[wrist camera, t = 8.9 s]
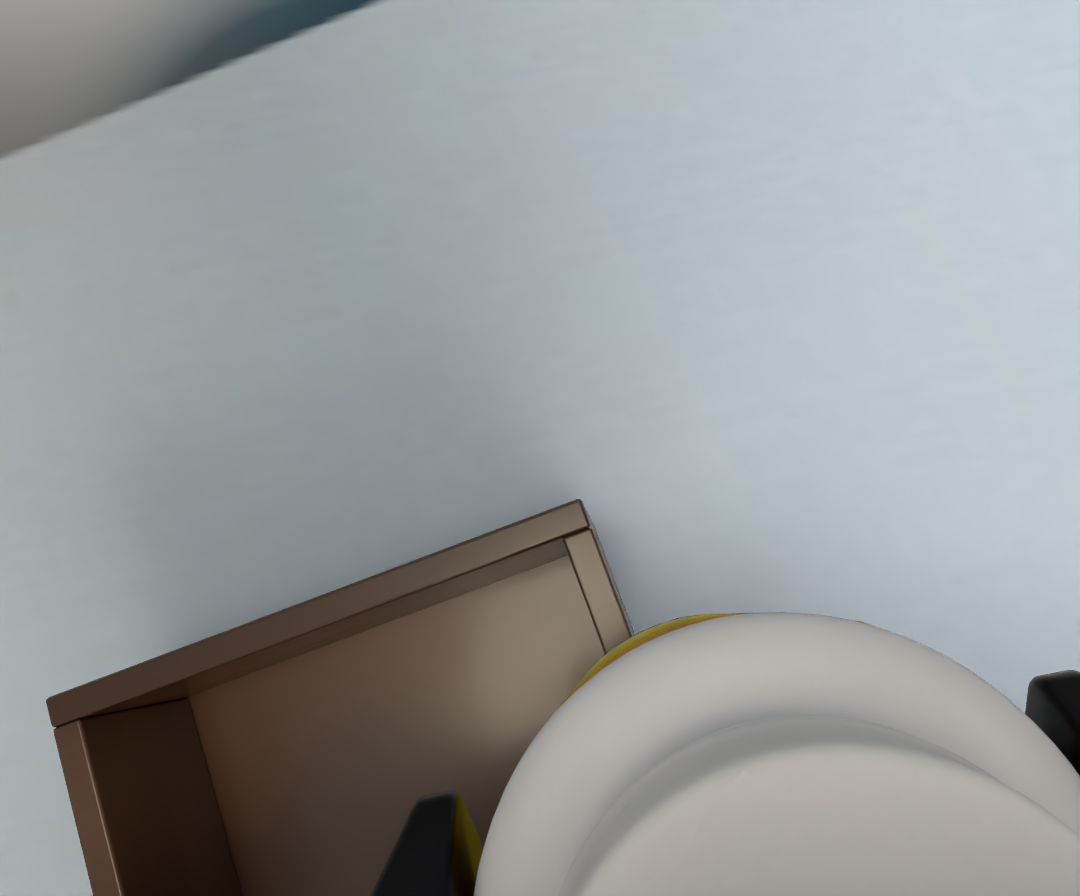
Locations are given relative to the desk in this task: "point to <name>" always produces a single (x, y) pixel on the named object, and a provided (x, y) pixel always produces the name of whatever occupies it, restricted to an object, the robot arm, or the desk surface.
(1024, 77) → the desk surface
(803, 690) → the supplement bottle
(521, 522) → the desk tray
